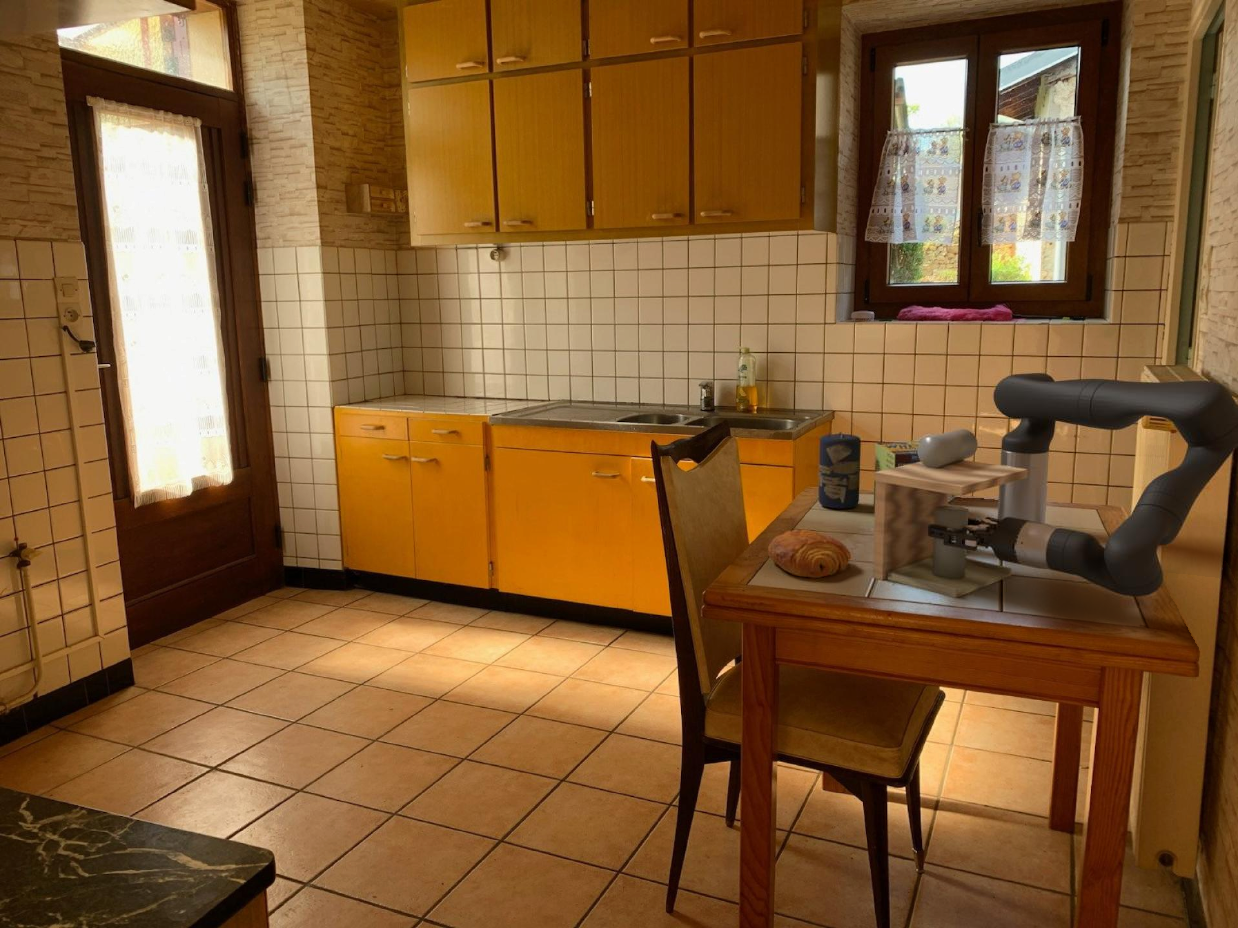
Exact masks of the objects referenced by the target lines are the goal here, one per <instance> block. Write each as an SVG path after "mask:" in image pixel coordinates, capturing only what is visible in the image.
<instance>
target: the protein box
mask: <svg viewBox="0 0 1238 928" xmlns="http://www.w3.org/2000/svg"><path fill="white" fill-rule="evenodd" d="M919 444H920V443H918V442H912V443H911V442H875V449H874V450H875V451H874V452H875V453H874V472H878V471H882V470H887V469H891V468H895V467H900V466H904V465H909V464H913V463H917V460H918V459H917V453H918V446H919ZM873 482H874V483H873V487H874V488H873V507H874V508H875V489H876V481H874V480H873Z"/></svg>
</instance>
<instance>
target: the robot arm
mask: <svg viewBox="0 0 1238 928" xmlns="http://www.w3.org/2000/svg"><path fill="white" fill-rule="evenodd" d="M992 396H993V402H994V405H995V407H996V409H997V410H998V411H999V412H1000V413H1001V414H1002V415H1004V416H1005V417H1007V418H1010V419H1015V420H1020V422H1019V424H1018V425H1017V426H1016V427H1015V428H1013V430H1011V431H1009V432H1007V433H1006V434H1004V435H1003V436H1002V438H1001V445H1000V446H1001V450H1000V451H1001V452H1000V465H1001V466H1008V467H1015V468H1022V469H1027V478H1024V479H1020V480H1017V481H1013V482H1009V483H1006V484H1002V485H999V486H998V502H997V518H995V517H990V516H986V517H984V518H982V517H978V518H971V517H968V525H962V526H961V527H960V528H952V527H945V526H940V525H935V524H930V525H928V536H929V537H934V538H938V539H943V540H944V542H943V544H944V545H946V546H952V547H957V548H962V549H966V551H967V550H968V551H971V552H975V551H978V549H988V548H991V550H992V551H993V554H994V555H995V557H996V558H997V559H998V560H999V561H1003V562H1007V563H1011V564H1016V565H1021V566H1026V567H1029V568H1033V569H1039V570H1049V571H1055V572H1059V573H1064V574H1069V575H1072V576H1078V577H1080V578H1082V579H1083V580H1086V581H1087V582H1090V583H1093V584H1095V585H1097V586H1099V587H1102V588H1104V589H1106V590H1108V591H1110V592H1113V593H1116V594H1119V595H1121V596H1126V597H1137V598H1138V597H1145V596H1150V595H1152V594H1154V593H1155V592H1158V590H1159V589H1160V588H1161V586H1162V585H1163V582H1164V573H1163V572H1164V571H1163V569H1162V565H1161V562H1160V559H1159V557H1158V553H1157V552H1158V549H1159V547H1163V546H1167V545H1170V544H1171V543H1172V542H1173V541H1175V539H1176V537H1178V535H1179V533H1180V531H1181V529H1182V527H1183V525H1184V523H1185V521H1186V519H1187V518H1188V515H1189V514H1190V511H1191V510H1192V507H1193V506H1194V504H1195V502H1196V501H1197V498H1198V497H1199V496H1200V494H1201V492H1202V491H1203V490H1204V489H1205V487H1206V486H1207V485H1208V483H1209V482H1210V481H1211V480H1212V478H1213V477H1214V476H1215V475H1216V474H1217V472H1219V470H1220V468H1221V467H1222V466H1223V465H1224V464H1225V462H1226V461H1227V459H1228V458H1229V457H1230V456H1231V455H1232V453H1234V451H1235V450H1236V449H1237V447H1238V404H1237V402H1236V400H1235V399H1234V397H1233V396H1232V394H1231V393H1230V391H1229V389H1228V388H1226V387H1225V386H1224V385H1222V384H1220V383H1219V382H1215V381H1210V380H1185V381H1167V382H1166V381H1163V382H1160V381H1158V382H1155V381H1154V382H1153V381H1127V380H1118V379H1107V378H1080V379H1079V378H1078V379H1076V378H1075V379H1067V380H1065V379H1064V380H1057V381H1055V379H1054V378H1053V377H1052V376H1051V375H1049V374H1048V373H1043V372H1033V373H1032V372H1031V373H1028V372H1027V373H1016V374H1015V373H1014V374H1011V375H1008V376H1006V377H1004V378H1002V379H1001V380H1000V381H999V382H998V383H997V385H996V386H995V388H994V390H993V395H992ZM1145 416H1150V417H1157V418H1158V417H1159V418H1163V419H1166V420H1169V421H1171V422H1172V424H1173V425H1174V427H1175V428H1176V430H1177V431H1178V433H1179V434H1180V436H1181V437H1182V438H1183V440H1184V441H1185V443H1186V444H1187V448H1186V452H1185V456H1183V457H1184V458H1183V460H1182V462H1181V463H1180V464H1179V466H1177V467H1176V468H1174V469H1171V470H1169V471H1166V472H1164V473H1161V474H1160V475H1158V476H1157V477H1155V478H1154V479H1153V480H1152V481H1151V482H1149V484H1147V486H1146V487H1145V488H1144V490H1143V491H1142V493H1141V495H1140V497H1139V498H1138V501H1137V503H1136V504H1135V507H1134V509H1133V510H1132V511H1131V514H1130V516H1128V517H1127V518H1126V519H1125V520H1123V522H1122V523H1121V524H1120V525H1119V526H1118V527H1117V528H1116V529H1115V530H1114V531H1113V532H1112V533H1111V534H1110V536H1109V537H1108V539H1107V540H1106V543H1105V545H1104V546H1103V545H1102V544H1101V543H1100V541H1098V539H1097V538H1096V537H1095V536H1094V535H1092V534H1090V533H1087V532H1083V531H1078V530H1074V529H1069V528H1063V527H1058V526H1055V525H1052V524H1048V523H1046V515H1047V514H1046V512H1047V511H1046V509H1047V498H1048V475H1049V474H1048V472H1049V460H1050V459H1049V457H1050V445H1051V443H1052V440H1053V439H1054V436H1055V430H1056V424H1057V423H1056V422H1060V423H1065V424H1071V425H1075V426H1081V427H1086V428H1090V429H1091V428H1092V429H1101V430H1108V431H1118V430H1119V431H1120V430H1124V429H1127V428H1129V427H1131V426H1133V425H1134V424H1136V423H1137V422H1138V421H1139V420H1141V419H1142V418H1144V417H1145ZM966 531H967V533H966ZM954 536H956V539H953V538H954Z"/></svg>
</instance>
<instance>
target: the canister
mask: <svg viewBox="0 0 1238 928" xmlns="http://www.w3.org/2000/svg"><path fill="white" fill-rule="evenodd" d="M861 441H862V440H861V438H860V437H859V436H858V435H854V434H849V433H848V434H846V433H843V432H842V431H839V433H831V434H830V433H829V434H825V435H822V436H821V437H820V440H819V454H818V455H819V458H818V459H819V460H818V491H817V492H818V495H817V496H818V503H819V504H820V505H821V506H824V507H825V508H826V507H827V508H833V509H849V508H854V507H857V505H858V504H859V502H860V483H861V481H860V480H861V479H860V478H861V453H862V452H861V450H862V449H861V447H862V446H861V445H862V442H861Z"/></svg>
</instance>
